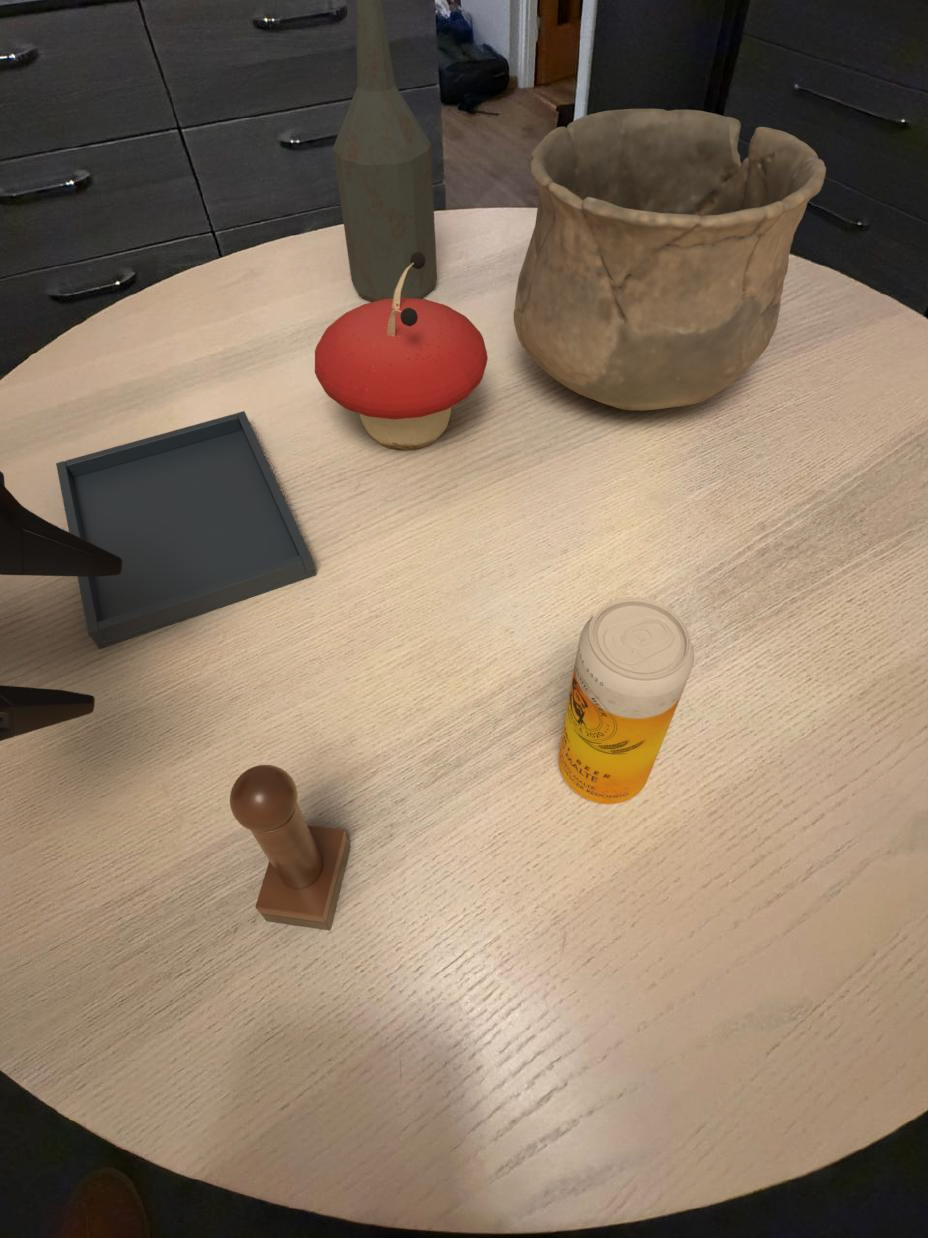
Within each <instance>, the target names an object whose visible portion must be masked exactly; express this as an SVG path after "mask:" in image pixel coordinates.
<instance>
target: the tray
mask: <svg viewBox="0 0 928 1238" xmlns="http://www.w3.org/2000/svg"><path fill="white" fill-rule="evenodd" d="M262 448H263V447H262V446H261V444H260V442H259V440H258V438H257V435H256V433H255V431H254V429H253V427H252V424H251V422H250V420H249V418H248V416H247V414H246V412H245V410H242V411H239V412H236V413H232V414H228V415H225V416H222V417H221V416H220V417H218V418H214V419H211V420H207V421H204V422H200V423H197V424H193V425H189V426H185V427H182V428H178V429H175V430H171V431H168V432H164V433H160V434H157V435H153V436H149V437H145V438H142V439H138V440H135V441H131V442H128V443H124V444H120V445H117V446H113V447H108V448H105V449H102V450H99V451H95V452H92V453H91V452H90V453H88V454H84V455H82V456H77V457H73V458H69V459H66V460H62V461H59V462H56V463H55V466H56V471H57V475H58V481H59V487H60V492H61V497H62V503H63V509H64V513H65V519H66V524H67V529H68V532H69V533H71V534H73V535H75V536H77V537H79V538H81V539H83V540H85V541H88V542H90V543H92V544H94V545H96V546H98V547H100V548H102V549H104V550H106V551H108V552H110V553H112V554H114V555H116V556H118V557H120V558H121V559H122V561H123V564H122V572H121V574H120V575H113V576H98V577H77V582H78V586H79V592H80V598H81V602H82V603H81V604H82V608H83V614H84V619H85V623H86V629H87V633H88V635H89V637H90V638H91V639H92V642H94V644H95V646H96V647H97V648H98V650H101V649H104V648H107V647H109V646H112V645H115V644H119V643H121V642H125V641H127V640H131V639H134V638H136V637H139V636H142V635H145V634H148V633H151V632H153V631H157V630H159V629H162V628H165V627H168V626H171V625H175V624H177V623H179V622H183V621H187V620H189V619H193V618H195V617H198V616H201V615H203V614H206V613H207V614H208V612H212V611H215V610H219V609H222V608H225V607H226V606H229V605H233V604H235V603H238V602H241V601H245V600H247V599H250V598H254V597H256V596H259V595H262V594H265V593H267V592H271V591H274V590H277V589H279V588H283V587H285V586H288V585H292V584H294V583H297V582H300V581H303V580H306V579H309V578H312V577H315V576H317V572H316V567H315V564H314V560H313V557H312V554H311V552H310V551H309V548H308V546H307V544H306V541H305V539H304V537H303V535H302V532H301V530H300V528H299V527H298V525H297V521H296V520H295V518H294V516H293V514H292V511H291V509H290V507H289V505H288V503H287V500H286V498H285V496H284V494H283V491H282V489H281V488H280V487H281V486H280V485H279V483H278V481H277V479H276V476H275V474H274V472H273V470H272V468H271V466H270V463H269V461H268V459H267V457H266V455H265V452H264V450H263V449H262Z"/></svg>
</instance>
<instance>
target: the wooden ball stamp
mask: <svg viewBox="0 0 928 1238" xmlns="http://www.w3.org/2000/svg"><path fill="white" fill-rule="evenodd" d="M229 807H230V810H231V813H232V816H233V817H234V819H235V820H236V822H238V823H239V825H241V826H242V827H243V828H245V829H247V830H249V831H250V832H251V834H252V835H253V837H254V839H255V840H256V843H258V845H259V847H260V848H261V850H262V852H263V853H264V855H265V856H266V858H267V860H268V864H267V867H266V870H265V874H264V877H263V880H262V884H261V887H260V890H259V893H258V896H257V900H256V903H255V909H256V910H257V912H258V913H259V914H260V915H261V916H262V918H263V919H264V920H265V921H266V922H269V923H275V924H283V925H289V926H295V927H302V928H308V929H309V928H310V929H317V930H323V931H331V929H332V925H333V920H334V917H335V912H336V908H337V903H338V900H339V896H340V892H341V889H342V883H343V879H344V875H345V870H346V867H347V862H348V859H349V856H350V855H349V854H350V850H351V846H350V843H349V840H348V837H347V834H346V831H345V830H344V829H342V828H341V829H340V828H333V827H326V826H317V825H310V824H307V822H306V820H305V818H304V815H303V813H302V810H301V809H300V807H299V804H298V789H297V785H296V783H295V781H294V779H293V778H292V776H291V775H290V773H288V772H287V771H286V770H285V769H283V768H281V767H279V766H276V765H273V764H259V765H255V766H252V767H250V768H248V769H246V770H245V771H244V772H242V773H241V774H240V775H239V776H238V777H237V778H236V780H235V782H234V783H233V785H232V787H231V789H230V796H229Z"/></svg>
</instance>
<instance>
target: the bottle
mask: <svg viewBox="0 0 928 1238" xmlns="http://www.w3.org/2000/svg"><path fill="white" fill-rule="evenodd" d="M355 27H356V28H355V30H356V31H355V32H356V34H355V35H356V74H357V75H356V76H357V86H356V89H355V91H354V94H353V97H352V99H351V101H350V104H349V107H348V109H347V112H346V115H345V116H344V120H343V121H342V124H341V127H340V129H339V132H338V134H337V136H336V139H335V142H334V145H333V146H332V151H333V156H334V157H333V158H334V164H335V165H334V166H335V171H336V179H337V186H338V193H339V201H340V207H341V213H342V214H341V215H342V221H343V229H344V235H345V236H344V237H345V243H346V250H347V257H348V264H349V271H350V272H349V273H350V280H351V283H352V284H353V286H354V288H355V289H356V291H357V293H358V295H359V296H361V298H362V299H363V300H364V301H367V302H369V303H371V302H375V301H379V300H383V299H392V298H393V296H394V291H395V289H396V287H397V284H398V282H399V280H400V277H401V276H402V274H403V273H404V271H405V269H406V268H407V267H409V266H410V265H411V262H410V259H411V255H412V254H414V253H415V252H420V253H422V254H423V255H424V256H425V260H426V261H425V265H424V266H423V267H422V268H420V269H416V268H414V267H413V266H411V267H410V268H409V270H408V272H407V274H406V277H405V280H404V283H403V287H402V291H401V298H414V299H424V297H426V296H427V295H428V294H430V293H431V292H432V291H433V289H434V288H435V285H436V283H437V279H438V270H437V249H436V247H437V246H436V245H437V244H436V227H435V226H436V225H435V223H436V222H435V205H434V203H435V202H434V183H433V160H432V159H433V158H432V143H431V141H430V140H429V138H428V137H427V135H426V133H425V132H424V130H423V128H422V126H421V125H420V123H419V122H418V120H417V119H416V117H415V115H414V113H413V111H412V110H411V108H410V107H409V105H408V103H407V102H406V100H405V99H404V96H403V95H402V94H401V92H400V90H399V88H398V87H397V85H396V81H395V80H396V79H395V74H394V67H393V62H392V56H391V49H390V43H389V39H388V38H389V37H388V31H387V25H386V19H385V12H384V6H383V1H382V0H355Z"/></svg>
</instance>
